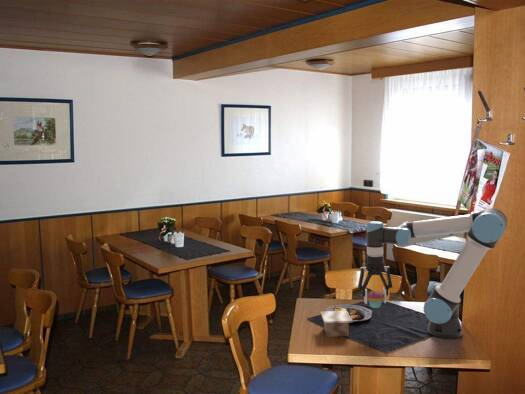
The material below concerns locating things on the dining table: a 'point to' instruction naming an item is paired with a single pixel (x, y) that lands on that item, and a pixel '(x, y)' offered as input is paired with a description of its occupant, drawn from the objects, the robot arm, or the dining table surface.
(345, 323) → the white box
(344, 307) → the food plate
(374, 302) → the cupcake
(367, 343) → the dining table surface
